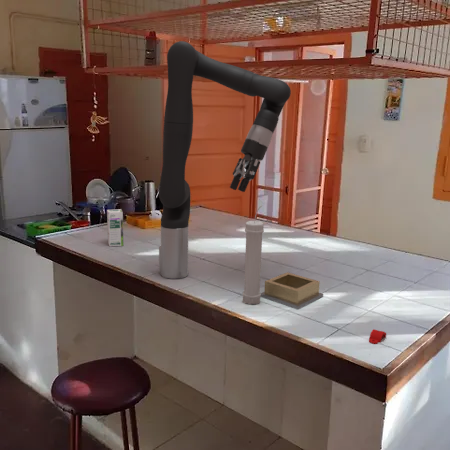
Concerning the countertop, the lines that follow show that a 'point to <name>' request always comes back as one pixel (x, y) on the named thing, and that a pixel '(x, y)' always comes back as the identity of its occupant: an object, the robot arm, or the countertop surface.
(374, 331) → the pipe clamp
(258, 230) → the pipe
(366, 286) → the countertop surface
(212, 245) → the countertop surface
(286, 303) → the socket
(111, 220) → the syrup box
